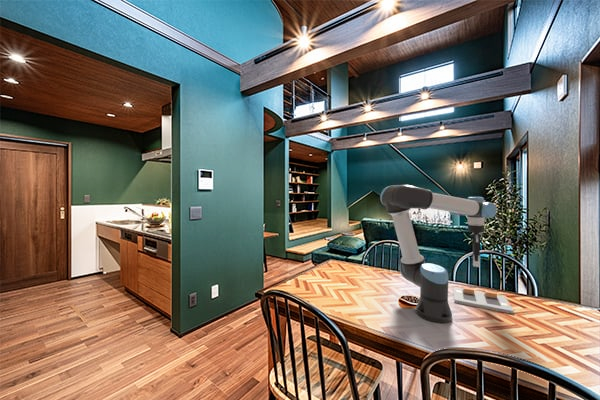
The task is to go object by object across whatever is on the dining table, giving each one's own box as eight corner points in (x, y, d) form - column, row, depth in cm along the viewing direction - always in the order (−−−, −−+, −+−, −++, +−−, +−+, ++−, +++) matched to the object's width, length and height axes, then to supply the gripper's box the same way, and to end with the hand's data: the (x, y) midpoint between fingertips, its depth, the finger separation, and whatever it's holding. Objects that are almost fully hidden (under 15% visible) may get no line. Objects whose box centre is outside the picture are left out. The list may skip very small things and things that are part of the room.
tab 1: (474, 294, 134) (474, 290, 134) (463, 292, 136) (463, 288, 136) (473, 292, 136) (473, 288, 136) (463, 290, 139) (463, 286, 139)
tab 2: (497, 298, 129) (497, 294, 129) (485, 296, 131) (485, 292, 131) (496, 296, 131) (496, 292, 131) (484, 294, 134) (484, 290, 134)
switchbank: (513, 314, 116) (513, 310, 116) (454, 302, 128) (454, 299, 128) (505, 298, 133) (505, 295, 133) (453, 289, 145) (453, 286, 145)
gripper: (486, 226, 126) (486, 270, 127) (482, 223, 138) (483, 263, 138) (468, 225, 130) (468, 268, 131) (466, 222, 141) (467, 262, 142)
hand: (476, 266), depth 135 cm, fingers closed
